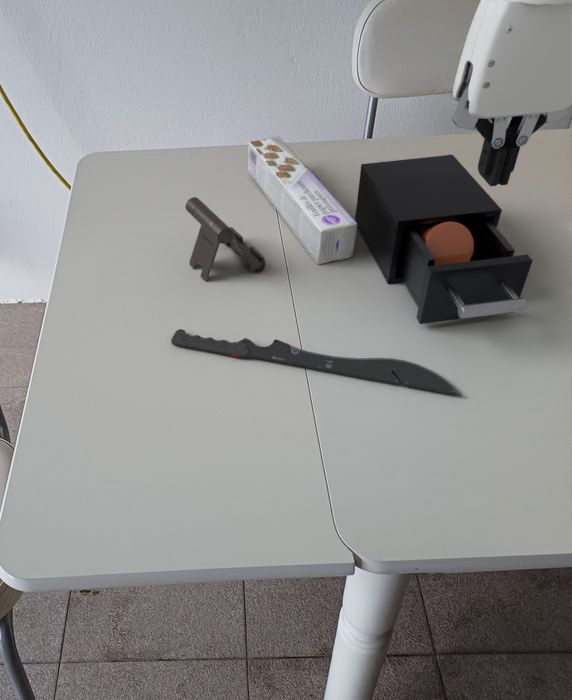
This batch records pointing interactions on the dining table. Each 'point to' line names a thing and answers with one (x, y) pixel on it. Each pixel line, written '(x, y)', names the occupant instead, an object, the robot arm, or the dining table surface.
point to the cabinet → (414, 202)
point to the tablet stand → (218, 240)
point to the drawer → (464, 275)
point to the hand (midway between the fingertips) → (492, 178)
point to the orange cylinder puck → (448, 242)
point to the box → (302, 201)
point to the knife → (324, 362)
